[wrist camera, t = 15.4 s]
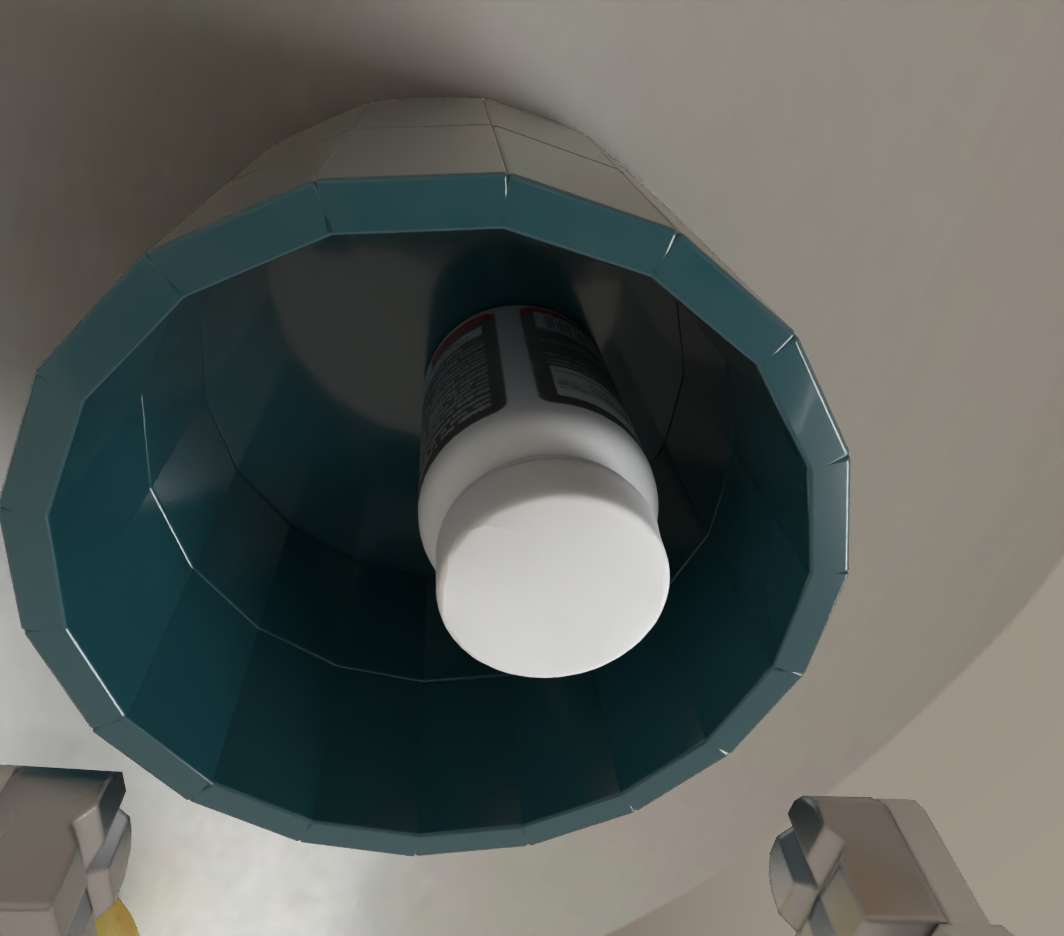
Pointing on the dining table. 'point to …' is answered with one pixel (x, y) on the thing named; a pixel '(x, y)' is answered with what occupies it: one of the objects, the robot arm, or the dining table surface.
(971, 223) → the dining table surface
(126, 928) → the fruit
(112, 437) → the enamel pot
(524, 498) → the pill bottle
